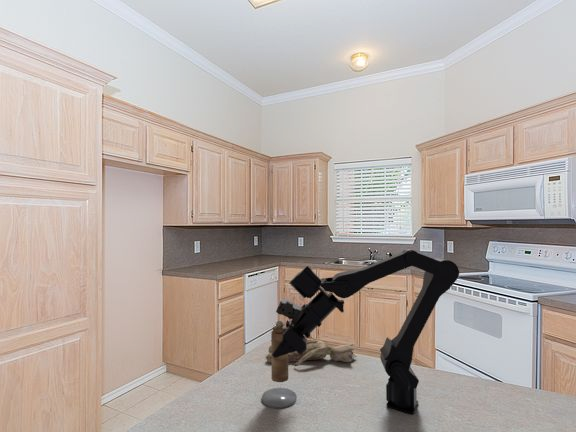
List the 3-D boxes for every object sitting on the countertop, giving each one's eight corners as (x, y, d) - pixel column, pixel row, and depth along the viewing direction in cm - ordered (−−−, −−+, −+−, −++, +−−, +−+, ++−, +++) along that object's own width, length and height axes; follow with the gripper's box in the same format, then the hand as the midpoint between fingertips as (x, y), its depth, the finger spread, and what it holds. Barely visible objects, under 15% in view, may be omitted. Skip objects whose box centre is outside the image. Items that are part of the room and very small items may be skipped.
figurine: (266, 375, 104) (361, 368, 103) (264, 355, 105) (359, 348, 104) (271, 355, 121) (352, 350, 120) (269, 338, 121) (351, 332, 120)
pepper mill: (290, 375, 88) (290, 319, 88) (285, 383, 83) (285, 323, 84) (274, 373, 89) (274, 317, 89) (269, 381, 85) (269, 322, 85)
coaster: (302, 395, 87) (302, 393, 87) (284, 412, 80) (284, 409, 80) (274, 387, 92) (274, 384, 92) (255, 401, 85) (255, 399, 85)
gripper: (296, 282, 96) (259, 320, 96) (291, 296, 77) (245, 342, 78) (324, 310, 95) (286, 348, 96) (325, 330, 76) (278, 377, 77)
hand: (274, 352), depth 86 cm, fingers closed on pepper mill, 4 cm apart
